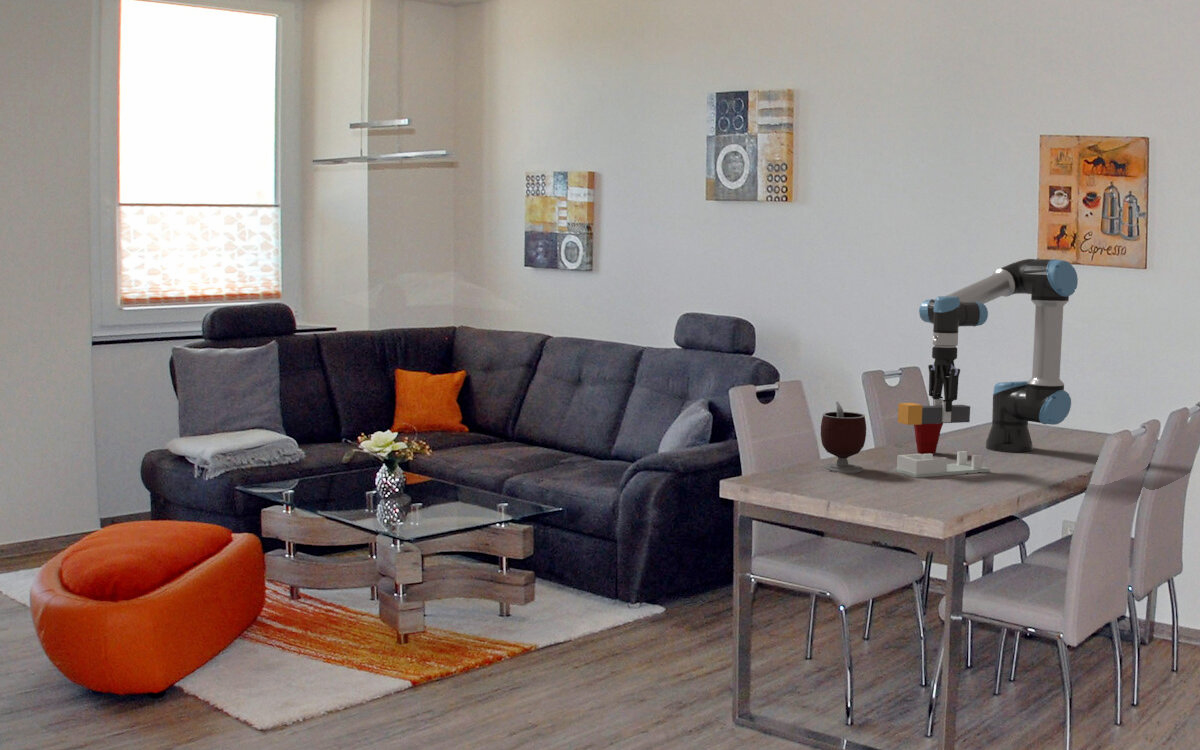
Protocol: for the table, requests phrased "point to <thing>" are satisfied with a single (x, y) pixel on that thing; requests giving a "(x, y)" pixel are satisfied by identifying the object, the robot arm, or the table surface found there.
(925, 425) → the plastic cup
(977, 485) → the table surface
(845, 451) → the mate gourd
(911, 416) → the bar
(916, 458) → the board
